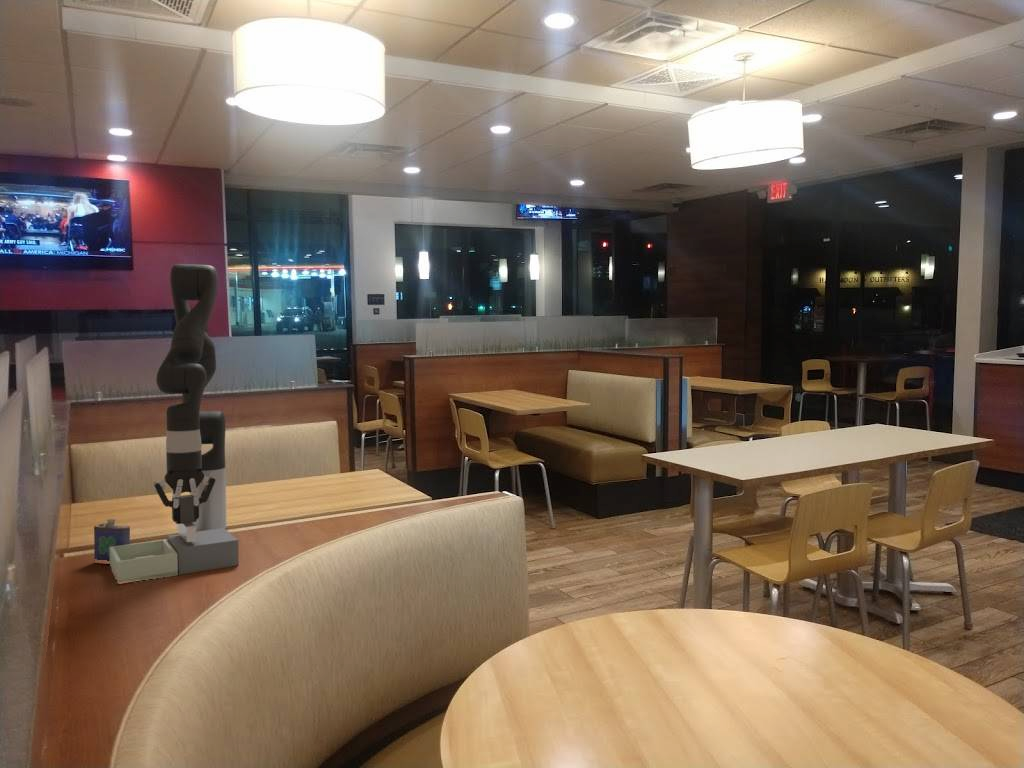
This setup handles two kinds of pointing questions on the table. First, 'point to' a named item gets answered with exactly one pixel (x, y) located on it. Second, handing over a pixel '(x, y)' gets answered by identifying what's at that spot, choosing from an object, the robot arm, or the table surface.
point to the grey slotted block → (205, 551)
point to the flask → (109, 538)
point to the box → (143, 561)
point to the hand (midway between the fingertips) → (185, 521)
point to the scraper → (187, 518)
